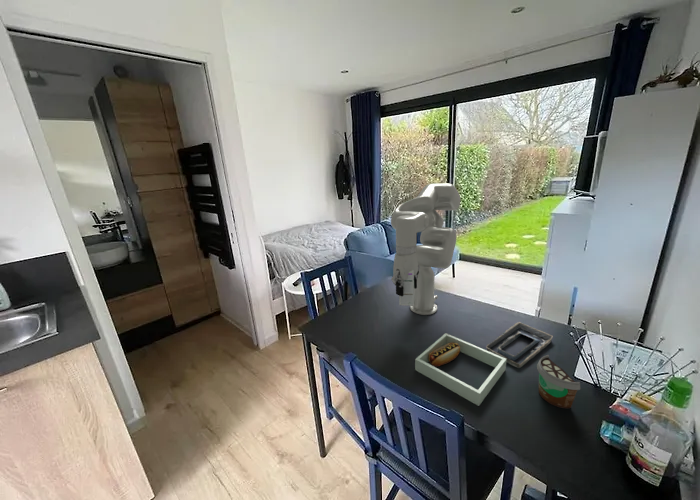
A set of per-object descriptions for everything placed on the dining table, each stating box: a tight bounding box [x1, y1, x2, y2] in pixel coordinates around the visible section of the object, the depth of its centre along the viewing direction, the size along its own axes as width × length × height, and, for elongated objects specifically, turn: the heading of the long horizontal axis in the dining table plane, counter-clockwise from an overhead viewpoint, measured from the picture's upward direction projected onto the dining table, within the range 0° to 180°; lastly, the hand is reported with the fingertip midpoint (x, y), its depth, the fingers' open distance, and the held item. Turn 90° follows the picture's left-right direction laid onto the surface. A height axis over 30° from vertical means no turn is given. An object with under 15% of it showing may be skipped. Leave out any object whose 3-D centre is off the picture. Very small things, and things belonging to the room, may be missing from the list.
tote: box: [414, 333, 507, 407], centre depth 97 cm, size 20×22×4 cm
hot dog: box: [428, 343, 461, 367], centre depth 102 cm, size 5×13×5 cm, turn 120°
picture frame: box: [485, 321, 554, 369], centre depth 107 cm, size 13×25×3 cm, turn 125°
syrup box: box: [398, 270, 414, 307], centre depth 112 cm, size 6×6×14 cm
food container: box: [536, 354, 581, 409], centre depth 84 cm, size 12×6×10 cm, turn 5°
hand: (406, 291), depth 113 cm, fingers closed on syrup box, 8 cm apart
